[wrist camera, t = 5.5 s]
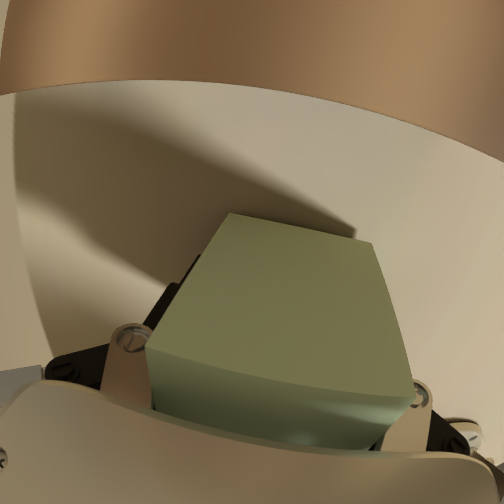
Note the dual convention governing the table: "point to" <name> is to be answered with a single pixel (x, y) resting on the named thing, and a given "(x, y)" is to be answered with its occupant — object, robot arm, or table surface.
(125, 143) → the table surface
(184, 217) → the table surface
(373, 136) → the table surface
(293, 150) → the table surface
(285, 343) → the sage block
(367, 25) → the walnut riser block
